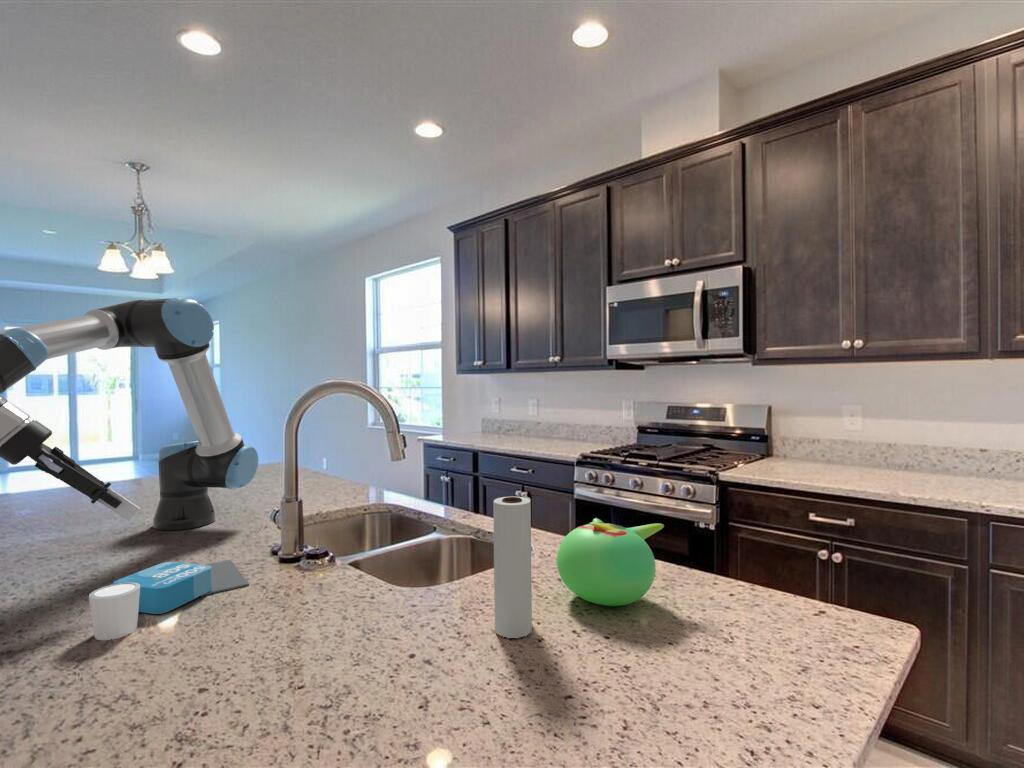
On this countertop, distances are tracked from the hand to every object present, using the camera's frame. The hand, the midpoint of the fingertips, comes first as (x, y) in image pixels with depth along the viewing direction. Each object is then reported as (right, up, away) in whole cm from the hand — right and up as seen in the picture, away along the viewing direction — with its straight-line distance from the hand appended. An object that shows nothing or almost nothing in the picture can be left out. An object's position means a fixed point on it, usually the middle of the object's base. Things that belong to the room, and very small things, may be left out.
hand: (133, 514), depth 104 cm
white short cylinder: (+7, -16, -15) cm, 23 cm away
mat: (+8, -15, +7) cm, 18 cm away
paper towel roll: (+73, -15, -16) cm, 76 cm away
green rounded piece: (+90, -15, -4) cm, 91 cm away
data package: (+1, -13, -1) cm, 13 cm away
